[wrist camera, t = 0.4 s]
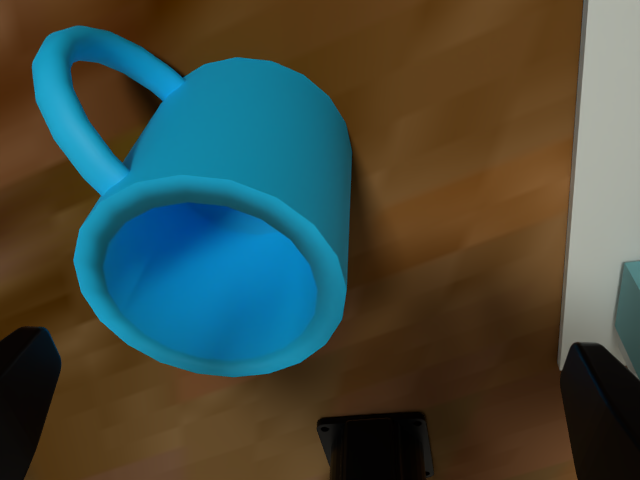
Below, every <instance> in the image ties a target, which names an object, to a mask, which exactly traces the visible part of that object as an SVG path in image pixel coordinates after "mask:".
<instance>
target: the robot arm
mask: <svg viewBox="0 0 640 480" xmlns="http://www.w3.org/2000/svg"><path fill="white" fill-rule="evenodd" d="M60 371H61V358H60V355H59V353H58V351H57V348H56V346H55V344H54V342H53V340H52V337H51V335H50V333H49V331H48V330H47V329H46V328H44V327H30V326H25V327H21V328H18V329H17V330H15V331H14V332H12V333H11V334H10V335H8V336H7V337H5V338H4V339H3V340H1V341H0V480H24V477H25V475H26V473H27V470H28V468H29V466H30V463H31V461H32V458H33V456H34V453H35V451H36V448H37V445H38V442H39V439H40V436H41V433H42V430H43V426H44V423H45V420H46V417H47V413H48V410H49V407H50V404H51V400H52V397H53V394H54V391H55V387H56V384H57V381H58V377H59V374H60ZM560 387H561V393H562V398H563V404H564V410H565V415H566V421H567V426H568V432H569V437H570V443H571V449H572V454H573V460H574V465H575V469H576V474H577V478H578V480H640V380H639V379H638V378H637V377H636V376H635V375H634V374H633V373H632V372H631V371H630V370H629V369H628V368H626V367H625V366H624V365H623V364H622V363H621V362H620V361H619V360H618V359H617V358H616V357H615V356H614V355H612V354H611V353H610V352H609V351H608V350H607V349H606V348H605V347H604V346H603V345H601V344H599V343H596V342H574V343H573V344H572V345H571V347H570V349H569V352H568V355H567V357H566V360H565V363H564V366H563V369H562V372H561V376H560ZM317 432H318V435H319V438H320V440H321V443H322V446H323V449H324V452H325V454H326V457H327V460H328V463H329V466H330V480H426V478H428V477H431V476H433V475H434V470H433V463H432V456H431V450H430V443H429V437H428V430H427V424H426V417H425V415H424V414H422V413H402V414H387V415H372V416H357V417H342V418H327V419H320V420H318V422H317Z"/></svg>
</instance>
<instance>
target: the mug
mask: <svg viewBox="0 0 640 480" xmlns="http://www.w3.org/2000/svg"><path fill="white" fill-rule="evenodd" d="M79 60H81V61H89V62H97V63H100V64H103V65H105V66H108V67H110V68H112V69H115V70H117V71H119V72H122V73H124V74H125V75H127V76H128V77H130V78H132V79H133V80H135V81H136V82H138V83H139V84H141V85H143V86H144V87H146V88H147V89H149V90H150V91H152V92H153V93H154V94H155V95H156V96H157V97H159V98H160V99H161V100H162V103H161V104H160V106H159V107H158V109H157V110H156V112H155V113H154V115H153V117H152V118H151V120H150V121H149V123H148V124H147V126H146V127H145V129H144V130H143V132H142V134H141V135H140V137H139V138H138V140H137V141H136V143H135V144H134V146H133V147H132V149H131V150H130V152H129V154H128V155H127V157H126V158H125V160H124V161H123V163H122V162H121V161H120V160H119V159H118V158H117V157H116V156H115V155H114V154H113V153H112V151H111V150H110V148H109V147H108V146H107V144H106V143H105V142H104V140H103V139H102V138H101V136H100V135H99V134H98V132H97V131H96V130H95V128H94V127H93V126H92V124H91V123H90V122H89V120H88V118H87V116H86V114H85V112H84V110H83V108H82V106H81V104H80V102H79V99H78V97H77V95H76V93H75V91H74V89H73V83H72V77H71V70H70V69H71V66H72V64H73V63H74V62H76V61H79ZM32 72H33V80H34V89H35V98H36V103H37V105H38V107H39V109H40V111H41V113H42V115H43V117H44V119H45V122H46V124H47V126H48V128H49V130H50V132H51V134H52V136H53V138H54V140H55V141H56V143H57V144H58V145H59V147H60V148H61V149H62V151H63V152H64V153H65V155H66V156H67V157H68V159H69V160H70V161H71V163H72V164H73V165H74V167H75V168H76V169H77V170H78V172H79V173H80V174H81V176H82V177H83V178H84V179H85V180H86V181H87V182H88V183H89V184H90V185H91V186H92V187H93V188H94V189H95V190H96V191H97V192H98V193H99V194H100V195H101V197H100V198H99V200H98V201H97V203H96V205H95V206H94V208H93V209H92V211H91V212H90V214H89V215H88V217H87V218H86V220H85V222H84V223H83V225H82V226H81V228H80V229H79V234H78V240H77V245H76V250H75V255H74V260H73V261H74V265H75V269H76V273H77V277H78V281H79V285H80V290H81V293H82V294H83V296H84V297H85V299H86V300H87V302H88V303H89V305H90V306H91V308H92V309H93V311H94V312H95V314H96V315H97V317H98V318H99V320H100V321H101V322H102V323H103V324H105V325H106V326H107V327H108V328H109V329H110V330H111V331H113V332H114V333H115V334H116V335H117V336H118V337H119V338H121V339H122V340H123V341H124V342H125V343H126V344H128V345H129V346H131V347H133V348H135V349H137V350H139V351H141V352H142V353H144V354H146V355H148V356H150V357H152V358H153V359H155V360H157V361H159V362H161V363H164V364H168V365H171V366H174V367H178V368H181V369H184V370H187V371H191V372H194V373H198V374H208V375H217V376H227V377H241V376H251V375H261V374H269V373H272V372H275V371H278V370H281V369H284V368H287V367H289V366H292V365H295V364H298V363H301V362H302V361H303V360H305V359H306V358H308V357H309V356H310V355H312V354H313V353H315V352H316V351H317V350H319V349H320V348H321V347H323V346H324V345H326V343H327V342H328V340H329V339H330V337H331V336H332V334H333V333H334V331H335V330H336V328H337V327H338V325H339V323H340V322H341V320H342V317H343V311H344V304H345V298H346V292H347V272H348V246H349V220H350V194H351V168H352V149H351V144H350V140H349V135H348V131H347V126H346V123H345V121H344V120H343V118H342V116H341V115H340V113H339V112H338V110H337V108H336V107H335V105H334V103H333V102H332V100H331V99H330V97H329V96H328V95H327V94H326V93H324V92H323V91H322V90H321V89H320V88H318V87H317V86H316V85H315V84H314V83H313V82H311V81H310V80H309V79H308V78H307V77H305V76H304V75H303V74H300V73H298V72H296V71H293V70H291V69H289V68H286V67H284V66H282V65H279V64H277V63H275V62H272V61H266V60H257V59H248V58H238V57H236V58H231V59H227V60H222V61H217V62H213V63H208V64H204V65H202V66H201V67H199V68H197V69H196V70H194V71H193V72H191V73H189V74H188V75H186V76H185V77H183V78H182V77H181V76H180V75H179V74H178V73H177V72H176V71H175V70H174V69H172V68H171V67H170V66H168V65H167V64H166V63H164V62H163V61H161V60H160V59H158V58H157V57H156V56H154V55H153V54H151V53H150V52H148V51H147V50H146V49H144V48H143V47H141V46H139V45H137V44H135V43H133V42H131V41H129V40H127V39H125V38H122V37H120V36H118V35H116V34H114V33H112V32H110V31H106V30H101V29H96V28H91V27H86V26H74V27H71V28H67V29H64V30H61V31H57V32H54V33H52V34H50V35H49V36H47V37H46V39H45V40H44V42H43V44H42V46H41V47H40V49H39V51H38V53H37V55H36V57H35V59H34V61H33V64H32Z"/></svg>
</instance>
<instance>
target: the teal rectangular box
mask: <svg viewBox="0 0 640 480" xmlns="http://www.w3.org/2000/svg"><path fill="white" fill-rule="evenodd" d="M615 328H616V330H617V332H618V335H619V337H620V339H621V341H622V343H623V345H624V348H625V350H626V352H627V354H628V356H629V359H630V361H631V363H632V365H633V367H634V369H635V372H636V374H637V376H638V378H639V380H640V261H635V262H626V263H624V270H623V276H622V283H621V289H620V295H619V302H618V308H617V315H616V321H615Z"/></svg>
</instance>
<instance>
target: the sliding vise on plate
mask: <svg viewBox="0 0 640 480" xmlns="http://www.w3.org/2000/svg"><path fill="white" fill-rule="evenodd" d="M635 261H640V0H584V2H583V16H582V30H581V43H580V57H579V71H578V85H577V99H576V112H575V126H574V140H573V154H572V167H571V181H570V195H569V209H568V223H567V236H566V250H565V264H564V278H563V292H562V305H561V319H560V333H559V347H558V361H557V363H558V366H559V369H560V370H562V369H563V366H564V363H565V360H566V357H567V355H568V352H569V349H570V347H571V345H572V344H573V343H574V342H596V343H599V344H601V345H603V346H604V347H605V348H606V349H607V350H608V351H609V352H610V353H611V354H612V355H614V356H615V357H616V358H617V359H618V360H619V361H620V362H621V363H622V364H623V365H624V366H625V365H627V367H628V369H629V370H630V371H631V372H632V373H633V374H634V375H635V376H636V377H637V378H638V376H637V374H636V372H635V369H634V367H633V365H632V363H631V361H630V359H629V356H628V354H627V352H626V350H625V348H624V345H623V343H622V341H621V339H620V337H619V335H618V332H617V330H616V328H615V321H616V315H617V308H618V302H619V295H620V289H621V283H622V276H623V270H624V263H626V262H635ZM638 379H639V378H638Z"/></svg>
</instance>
